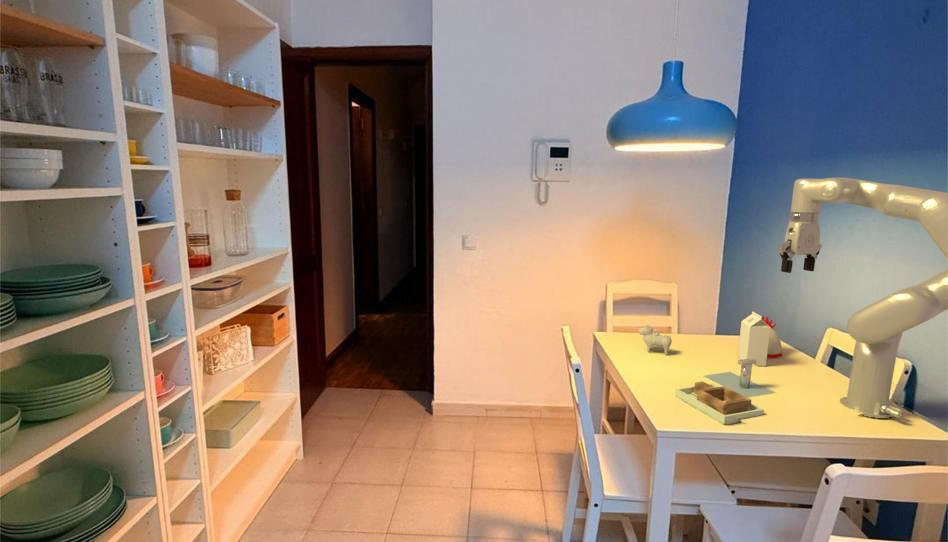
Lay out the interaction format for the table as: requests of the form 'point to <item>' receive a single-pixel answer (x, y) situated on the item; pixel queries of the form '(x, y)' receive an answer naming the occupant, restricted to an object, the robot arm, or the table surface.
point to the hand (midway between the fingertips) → (797, 271)
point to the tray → (723, 419)
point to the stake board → (733, 381)
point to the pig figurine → (655, 338)
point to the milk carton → (754, 339)
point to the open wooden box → (715, 395)
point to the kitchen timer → (773, 341)
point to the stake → (746, 372)
